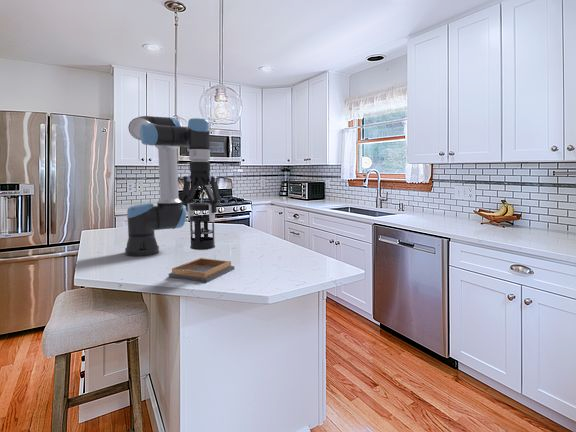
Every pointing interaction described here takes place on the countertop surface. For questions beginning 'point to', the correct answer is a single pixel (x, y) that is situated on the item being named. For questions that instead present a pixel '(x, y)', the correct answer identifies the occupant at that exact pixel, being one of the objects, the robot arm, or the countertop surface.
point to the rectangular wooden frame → (201, 270)
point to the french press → (199, 241)
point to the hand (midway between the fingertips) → (201, 220)
